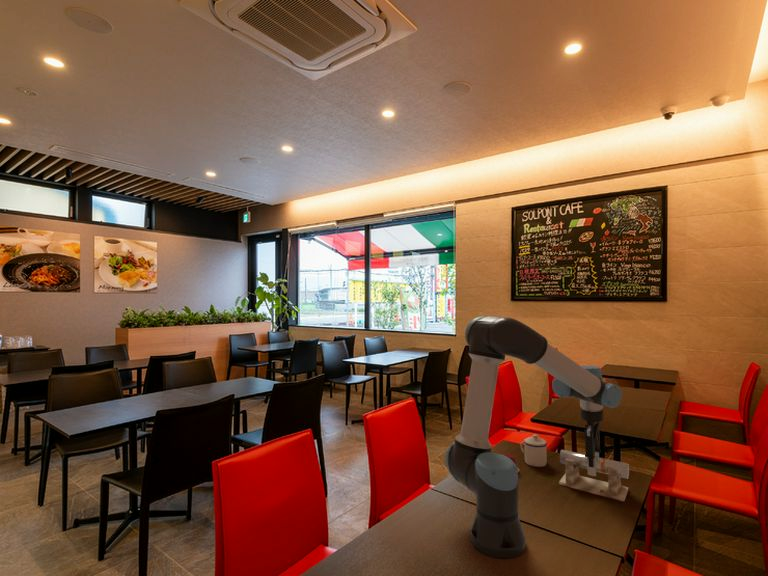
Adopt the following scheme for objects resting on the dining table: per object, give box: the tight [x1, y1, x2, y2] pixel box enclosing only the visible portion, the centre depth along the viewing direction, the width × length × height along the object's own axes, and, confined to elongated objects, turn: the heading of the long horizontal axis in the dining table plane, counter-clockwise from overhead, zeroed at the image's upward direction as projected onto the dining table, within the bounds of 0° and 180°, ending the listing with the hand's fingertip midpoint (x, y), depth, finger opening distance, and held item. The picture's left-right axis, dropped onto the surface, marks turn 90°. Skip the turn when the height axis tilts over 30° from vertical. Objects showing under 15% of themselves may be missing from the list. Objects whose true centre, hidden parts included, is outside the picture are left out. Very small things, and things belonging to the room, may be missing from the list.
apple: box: [503, 453, 520, 474], centre depth 164 cm, size 8×8×6 cm
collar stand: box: [558, 459, 629, 502], centre depth 149 cm, size 21×10×10 cm, turn 52°
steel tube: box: [559, 449, 630, 479], centre depth 149 cm, size 22×5×5 cm
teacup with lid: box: [520, 434, 548, 468], centre depth 172 cm, size 12×9×12 cm
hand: (593, 472), depth 149 cm, fingers closed on steel tube, 5 cm apart
